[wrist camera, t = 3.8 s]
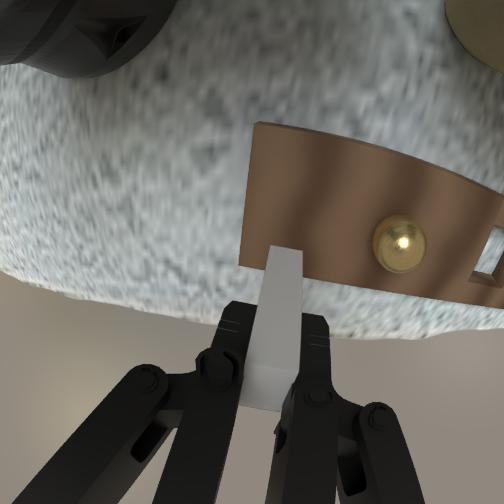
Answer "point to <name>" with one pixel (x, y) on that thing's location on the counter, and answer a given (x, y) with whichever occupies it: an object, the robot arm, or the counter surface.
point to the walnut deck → (367, 214)
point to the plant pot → (479, 28)
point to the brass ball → (399, 243)
